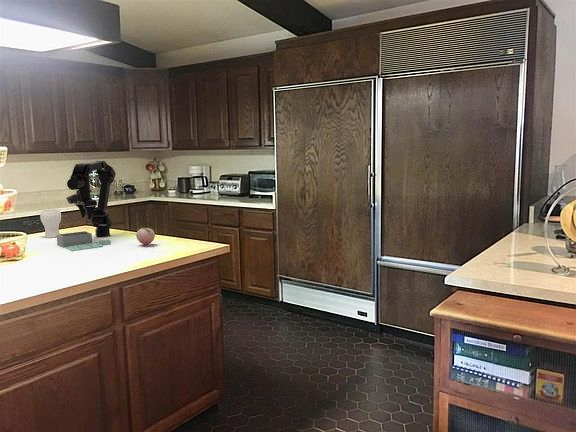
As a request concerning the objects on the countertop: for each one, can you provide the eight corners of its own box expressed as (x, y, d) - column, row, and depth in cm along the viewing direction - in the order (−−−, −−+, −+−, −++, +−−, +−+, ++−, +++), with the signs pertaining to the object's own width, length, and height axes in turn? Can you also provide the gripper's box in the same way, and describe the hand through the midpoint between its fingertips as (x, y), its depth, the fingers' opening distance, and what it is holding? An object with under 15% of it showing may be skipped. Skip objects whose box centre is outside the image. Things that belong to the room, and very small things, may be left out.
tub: (85, 242, 251) (85, 231, 250) (92, 245, 244) (91, 233, 243) (57, 246, 242) (56, 234, 241) (63, 249, 235) (62, 237, 234)
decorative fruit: (159, 244, 242) (158, 225, 241) (146, 247, 236) (145, 227, 234) (146, 243, 248) (145, 224, 246) (133, 245, 241) (132, 226, 239)
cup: (47, 238, 263) (45, 211, 261) (38, 237, 269) (36, 210, 267) (66, 236, 271) (64, 209, 269) (56, 234, 278) (54, 208, 276)
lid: (106, 243, 247) (105, 238, 246) (113, 246, 239) (113, 240, 238) (65, 250, 234) (64, 244, 233) (72, 253, 226) (71, 247, 225)
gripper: (61, 188, 247) (64, 218, 249) (73, 190, 233) (75, 222, 235) (84, 187, 254) (86, 216, 256) (96, 188, 240) (98, 219, 242)
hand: (86, 218), depth 247 cm, fingers open, 9 cm apart
